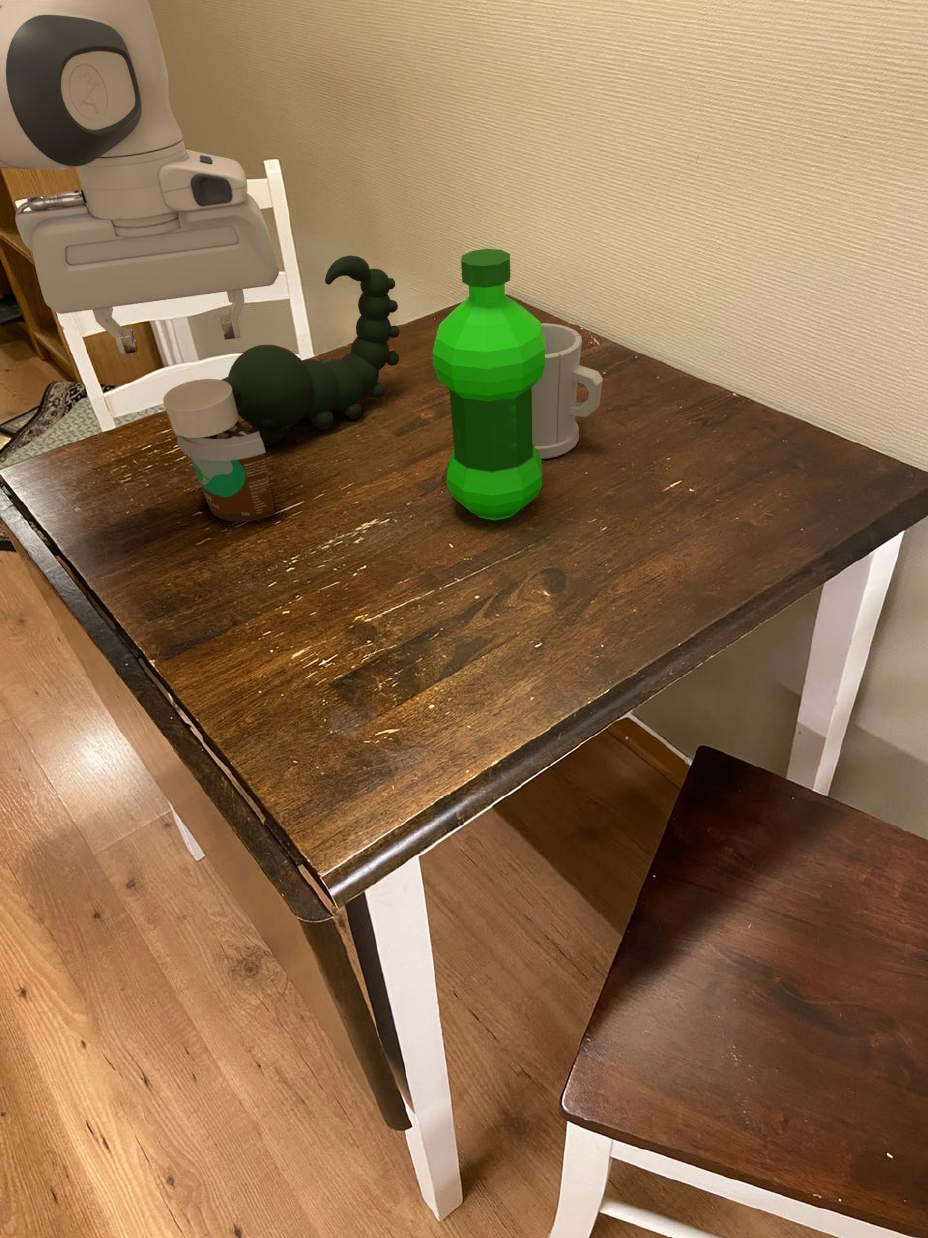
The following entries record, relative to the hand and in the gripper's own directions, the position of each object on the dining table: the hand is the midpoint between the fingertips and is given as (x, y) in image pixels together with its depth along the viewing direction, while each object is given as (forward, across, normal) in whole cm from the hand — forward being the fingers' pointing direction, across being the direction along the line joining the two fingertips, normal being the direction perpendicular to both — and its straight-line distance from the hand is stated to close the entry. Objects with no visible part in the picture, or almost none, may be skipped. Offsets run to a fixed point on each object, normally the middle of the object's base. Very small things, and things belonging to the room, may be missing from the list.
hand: (181, 344), depth 82 cm
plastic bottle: (+18, +27, -9) cm, 34 cm away
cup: (+18, +36, +2) cm, 41 cm away
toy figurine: (+18, +12, +16) cm, 27 cm away
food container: (+18, 0, 0) cm, 18 cm away
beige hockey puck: (+8, 0, 0) cm, 8 cm away
